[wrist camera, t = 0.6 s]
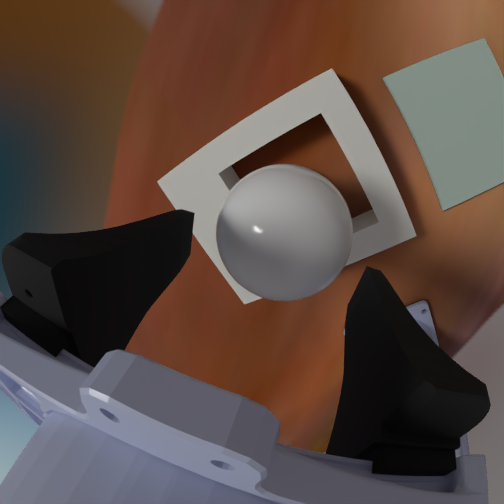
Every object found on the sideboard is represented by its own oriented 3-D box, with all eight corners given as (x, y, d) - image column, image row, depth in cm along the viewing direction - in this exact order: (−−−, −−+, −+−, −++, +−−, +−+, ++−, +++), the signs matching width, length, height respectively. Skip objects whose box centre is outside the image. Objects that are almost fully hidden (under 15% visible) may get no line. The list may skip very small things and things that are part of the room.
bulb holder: (409, 220, 20) (416, 236, 18) (252, 286, 26) (244, 304, 24) (332, 71, 16) (331, 68, 14) (173, 172, 23) (157, 181, 21)
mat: (529, 166, 14) (532, 167, 14) (441, 208, 18) (442, 211, 18) (482, 38, 11) (484, 38, 11) (381, 78, 15) (382, 78, 15)
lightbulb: (328, 126, 18) (319, 160, 9) (360, 211, 20) (372, 313, 11) (244, 159, 21) (165, 221, 12) (280, 236, 23) (236, 339, 14)
